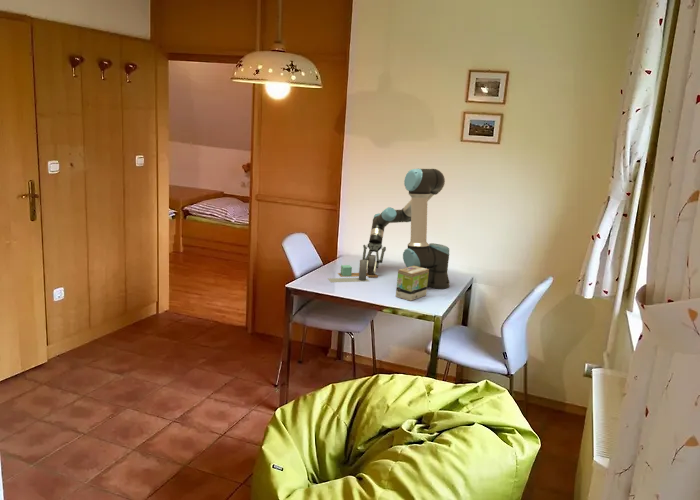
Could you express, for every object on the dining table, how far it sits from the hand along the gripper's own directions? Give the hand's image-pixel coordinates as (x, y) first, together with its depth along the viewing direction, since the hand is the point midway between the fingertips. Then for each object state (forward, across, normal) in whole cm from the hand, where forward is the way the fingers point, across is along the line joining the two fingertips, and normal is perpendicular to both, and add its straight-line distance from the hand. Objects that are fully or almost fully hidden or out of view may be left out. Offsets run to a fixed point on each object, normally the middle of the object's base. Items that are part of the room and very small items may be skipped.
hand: (370, 271), depth 350 cm
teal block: (+4, +14, 0) cm, 14 cm away
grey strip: (+11, +10, +6) cm, 16 cm away
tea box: (+21, -26, +15) cm, 36 cm away
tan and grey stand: (+2, +7, -3) cm, 8 cm away
